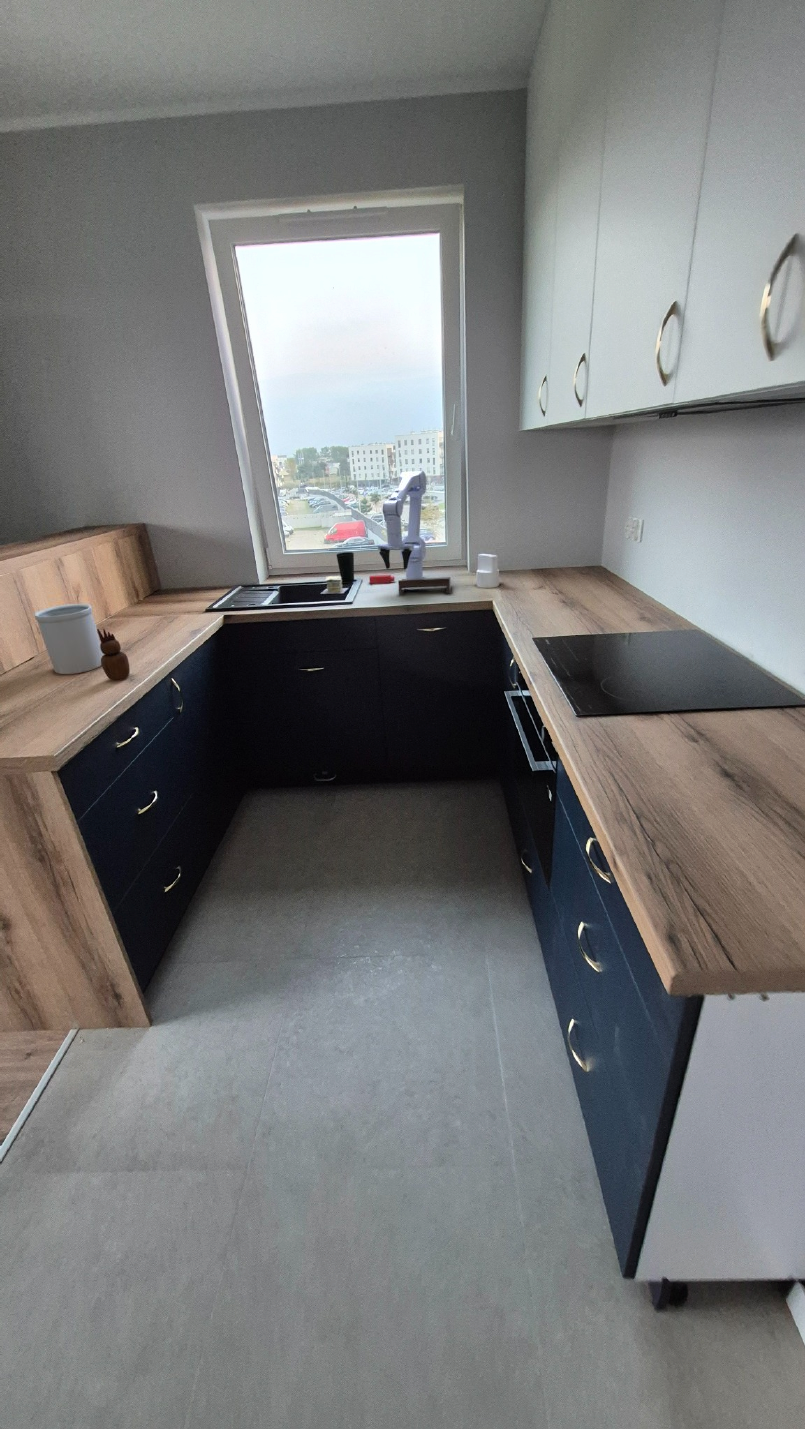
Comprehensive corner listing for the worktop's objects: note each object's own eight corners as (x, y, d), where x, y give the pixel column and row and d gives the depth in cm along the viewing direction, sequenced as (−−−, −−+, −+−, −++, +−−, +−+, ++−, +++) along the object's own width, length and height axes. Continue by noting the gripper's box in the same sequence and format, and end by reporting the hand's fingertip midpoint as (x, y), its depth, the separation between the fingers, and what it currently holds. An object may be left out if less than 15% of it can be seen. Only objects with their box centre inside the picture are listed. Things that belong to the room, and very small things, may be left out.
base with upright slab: (503, 584, 232) (503, 554, 227) (486, 588, 228) (486, 558, 223) (488, 581, 239) (488, 552, 234) (472, 585, 235) (471, 555, 230)
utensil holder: (98, 654, 183) (81, 600, 176) (115, 664, 173) (98, 607, 166) (47, 668, 174) (27, 611, 167) (62, 679, 164) (42, 619, 157)
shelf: (402, 588, 238) (401, 574, 236) (450, 586, 236) (450, 572, 233) (399, 595, 227) (398, 580, 225) (449, 593, 225) (449, 578, 222)
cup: (355, 582, 255) (352, 554, 250) (338, 583, 256) (335, 555, 251) (357, 578, 262) (354, 551, 257) (340, 579, 263) (337, 552, 258)
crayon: (371, 582, 253) (370, 575, 252) (394, 581, 252) (394, 574, 250) (369, 584, 250) (369, 577, 249) (394, 583, 249) (393, 576, 248)
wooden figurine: (107, 684, 158) (91, 632, 152) (106, 678, 163) (90, 627, 156) (133, 679, 161) (118, 627, 154) (131, 673, 165) (117, 622, 159)
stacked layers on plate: (348, 588, 246) (347, 575, 243) (343, 593, 238) (341, 580, 235) (326, 588, 247) (324, 576, 245) (320, 593, 240) (318, 580, 237)
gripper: (373, 535, 223) (376, 570, 229) (407, 534, 217) (409, 571, 223) (380, 532, 229) (383, 566, 234) (414, 531, 223) (416, 567, 229)
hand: (396, 568), depth 229 cm, fingers open, 7 cm apart
